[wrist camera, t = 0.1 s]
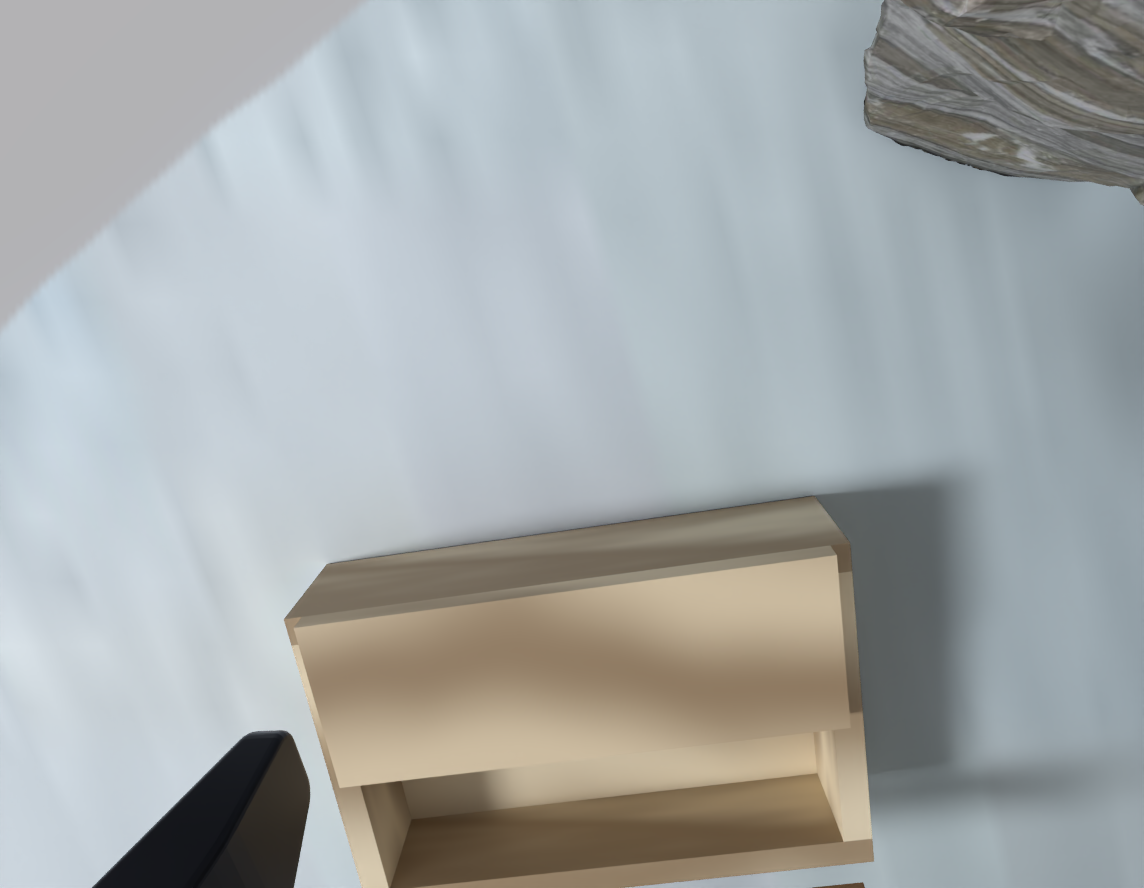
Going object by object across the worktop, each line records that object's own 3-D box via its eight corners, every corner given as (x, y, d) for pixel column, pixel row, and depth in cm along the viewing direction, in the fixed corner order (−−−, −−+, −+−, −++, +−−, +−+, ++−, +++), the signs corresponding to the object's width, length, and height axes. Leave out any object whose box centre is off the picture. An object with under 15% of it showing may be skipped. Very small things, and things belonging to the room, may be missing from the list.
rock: (1167, 212, 21) (2380, 210, 7) (980, 359, 22) (1668, 624, 8) (873, -202, 19) (1764, -1559, 4) (683, -11, 20) (893, -583, 6)
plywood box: (838, 778, 26) (880, 878, 22) (397, 828, 27) (364, 931, 24) (814, 496, 24) (857, 552, 20) (326, 564, 25) (275, 630, 21)
